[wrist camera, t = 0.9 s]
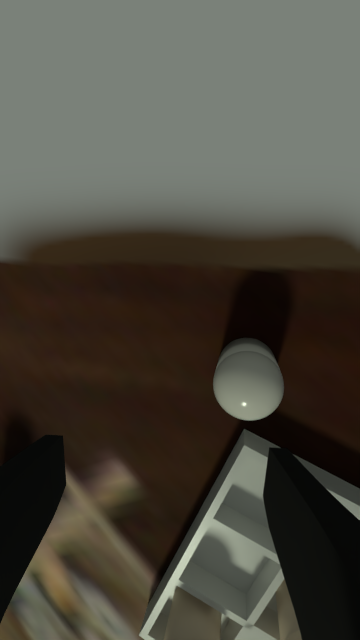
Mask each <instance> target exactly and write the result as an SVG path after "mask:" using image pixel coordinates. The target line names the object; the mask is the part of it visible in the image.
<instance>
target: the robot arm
mask: <svg viewBox="0 0 360 640" xmlns="http://www.w3.org/2000/svg"><path fill="white" fill-rule="evenodd" d="M65 486H66V475H65V461H64V446H63V436H58V435H45V436H43V437H42V438H40V439H39V440H37V441H36V442H34V443H33V444H31V445H30V446H29V447H27V448H26V449H24V450H23V451H22V452H20V453H19V454H17V455H16V456H15V457H13V458H12V459H10V460H9V461H7V462H6V463H5V464H3V465H2V466H0V623H1V620H2V618H3V616H4V613H5V611H6V609H7V607H8V605H9V603H10V601H11V599H12V596H13V594H14V592H15V590H16V588H17V586H18V585H19V583H20V581H21V579H22V577H23V575H24V573H25V571H26V569H27V567H28V565H29V563H30V561H31V560H32V558H33V556H34V554H35V552H36V550H37V548H38V546H39V544H40V542H41V540H42V538H43V536H44V535H45V533H46V531H47V529H48V527H49V525H50V523H51V521H52V519H53V517H54V515H55V512H56V510H57V507H58V505H59V502H60V500H61V497H62V494H63V491H64V489H65ZM263 500H264V506H265V511H266V516H267V521H268V526H269V530H270V533H271V537H272V540H273V543H274V547H275V550H276V553H277V556H278V560H279V563H280V566H281V569H282V573H283V576H284V579H285V582H286V585H287V589H288V592H289V595H290V598H291V601H292V605H293V608H294V611H295V615H296V618H297V622H298V626H299V629H300V633H301V638H302V640H360V520H359V519H358V518H357V517H355V516H354V515H353V514H352V513H351V512H350V511H349V510H348V509H347V508H346V507H344V506H343V505H342V504H341V503H340V502H339V501H338V500H337V499H336V498H335V497H334V496H333V495H332V494H331V493H330V492H329V491H328V490H327V489H326V488H325V487H324V486H323V485H322V484H321V483H320V482H319V481H318V480H317V479H316V478H315V477H314V476H313V475H312V474H311V473H310V472H309V471H308V470H307V469H306V468H305V467H304V465H303V464H302V463H301V462H300V461H299V460H298V459H297V458H296V457H295V456H294V455H293V454H292V453H291V452H290V451H289V450H288V449H287V448H272V447H269V453H268V460H267V468H266V475H265V483H264V490H263Z"/></svg>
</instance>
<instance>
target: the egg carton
mask: <svg viewBox="0 0 360 640" xmlns="http://www.w3.org/2000/svg"><path fill="white" fill-rule="evenodd" d="M269 447H272V448H280V447H279V446H277V445H275V444H273V443H271V442H269V441H267V440H265V439H263V438H261V437H259V436H257V435H255V434H254V433H252V432H250V431H248V430H246V429H244V430H243V432H242V433H241V435H240V437H239V439H238V441H237V443H236V444H235V446H234V448H233V450H232V452H231V454H230V455H229V457H228V459H227V461H226V463H225V465H224V466H223V468H222V470H221V472H220V474H219V475H218V477H217V479H216V481H215V483H214V485H213V486H212V488H211V490H210V492H209V494H208V496H207V497H206V499H205V501H204V503H203V505H202V507H201V508H200V510H199V512H198V514H197V516H196V518H195V519H194V521H193V523H192V525H191V527H190V529H189V530H188V532H187V534H186V536H185V538H184V540H183V541H182V543H181V545H180V547H179V549H178V551H177V552H176V554H175V556H174V558H173V560H172V562H171V563H170V565H169V567H168V569H167V571H166V573H165V574H164V576H163V578H162V580H161V582H160V584H159V585H158V587H157V589H156V591H155V593H154V595H153V596H152V598H151V600H150V602H149V604H148V606H147V609H146V613H145V616H144V620H143V623H142V627H141V630H140V633H139V636H141V637H142V638H144V639H145V640H302V638H301V633H300V629H299V626H298V622H297V618H296V615H295V611H294V608H293V605H292V601H291V598H290V595H289V592H288V589H287V585H286V582H285V579H284V576H283V573H282V569H281V566H280V563H279V560H278V556H277V553H276V550H275V547H274V543H273V540H272V537H271V533H270V530H269V526H268V521H267V516H266V511H265V506H264V500H263V490H264V483H265V475H266V468H267V460H268V453H269ZM293 455H294V454H293ZM294 456H295V457H296V458H297V459H298V460H299V461H300V462H301V463H302V464H303V465H304V467H305V468H306V469H307V470H308V471H309V472H310V473H311V474H312V475H313V476H314V477H315V478H316V479H317V480H318V481H319V482H320V483H321V484H322V485H323V486H324V487H325V488H326V489H327V490H328V491H329V492H330V493H331V494H332V495H333V496H334V497H335V498H336V499H337V500H338V501H339V502H340V503H341V504H342V505H343V506H344V507H346V508H347V509H348V510H349V511H350V512H351V513H352V514H353V515H354V516H355V517H357V518H358V519H359V520H360V489H359V488H357V487H355V486H354V485H352V484H350V483H348V482H346V481H344V480H342V479H340V478H338V477H336V476H334V475H332V474H330V473H329V472H327V471H325V470H323V469H321V468H319V467H317V466H315V465H313V464H311V463H309V462H307V461H305V460H304V459H302V458H300V457H298V456H296V455H294Z"/></svg>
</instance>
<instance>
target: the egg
mask: <svg viewBox="0 0 360 640" xmlns="http://www.w3.org/2000/svg"><path fill="white" fill-rule="evenodd" d="M213 388H214V393H215V396H216V399H217V401H218V402H219V404H220V405H221V407H222V408H223V409H224V410H225V411H226V412H227V413H229V414H230V415H232V416H233V417H236V418H238V419H241V420H249V421H251V420H259V419H262V418H264V417H267V416H268V415H270V414H271V413H272V412H273V411H274V410H275V409H276V408H277V407H278V405H279V404H280V402H281V400H282V397H283V392H284V382H283V377H282V374H281V372H280V369H279V367H278V364H277V362H276V359H275V357H274V354H273V353H272V351H271V350H270V348H269V347H268V346H267V345H266V344H264V343H263V342H261V341H259V340H257V339H253V338H240V339H236V340H234V341H232V342H230V343H229V344H228V345H227V346H226V347H225V348H224V349H223V351H222V352H221V355H220V357H219V361H218V364H217V367H216V371H215V374H214V380H213Z"/></svg>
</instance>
